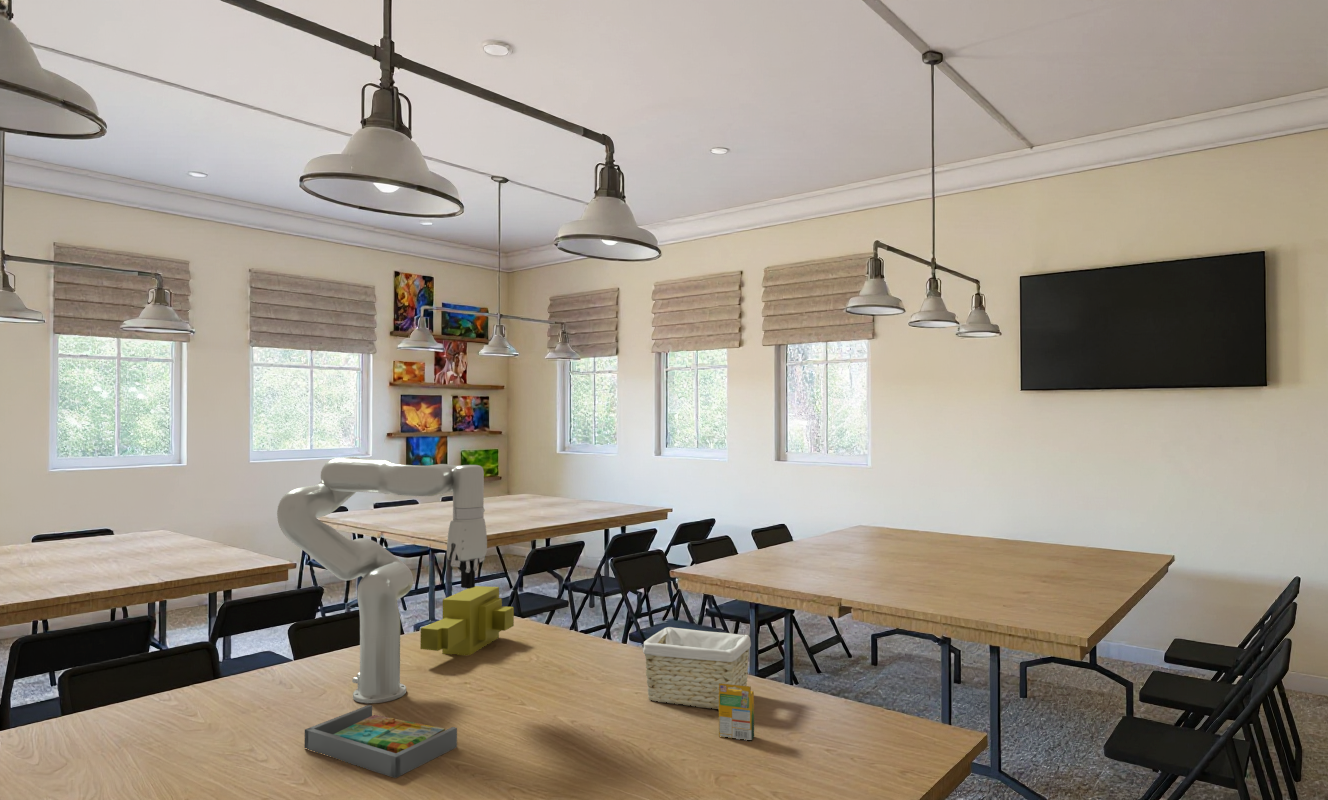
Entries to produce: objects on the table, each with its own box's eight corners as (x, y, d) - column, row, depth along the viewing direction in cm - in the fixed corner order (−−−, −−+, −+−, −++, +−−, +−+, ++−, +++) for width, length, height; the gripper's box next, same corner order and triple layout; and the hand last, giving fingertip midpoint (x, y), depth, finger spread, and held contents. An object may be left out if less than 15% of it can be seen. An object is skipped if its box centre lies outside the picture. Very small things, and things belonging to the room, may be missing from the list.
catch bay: (304, 748, 160) (304, 729, 160) (368, 722, 174) (368, 704, 174) (395, 778, 146) (395, 757, 146) (456, 747, 160) (456, 727, 160)
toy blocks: (474, 584, 248) (521, 586, 245) (474, 634, 248) (521, 637, 244) (416, 610, 214) (469, 612, 210) (416, 667, 214) (469, 671, 210)
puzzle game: (371, 711, 169) (445, 724, 161) (371, 733, 169) (445, 746, 161) (330, 731, 158) (407, 745, 151) (330, 754, 158) (406, 770, 150)
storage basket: (640, 702, 187) (640, 641, 187) (665, 681, 202) (665, 625, 202) (734, 715, 178) (733, 651, 178) (753, 693, 193) (752, 634, 193)
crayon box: (754, 736, 165) (754, 682, 166) (751, 741, 163) (751, 686, 163) (722, 732, 168) (721, 678, 168) (718, 737, 165) (718, 683, 165)
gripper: (478, 510, 200) (477, 580, 200) (435, 516, 187) (434, 591, 187) (499, 512, 197) (499, 583, 196) (457, 518, 184) (457, 594, 183)
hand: (467, 587), depth 191 cm, fingers closed
